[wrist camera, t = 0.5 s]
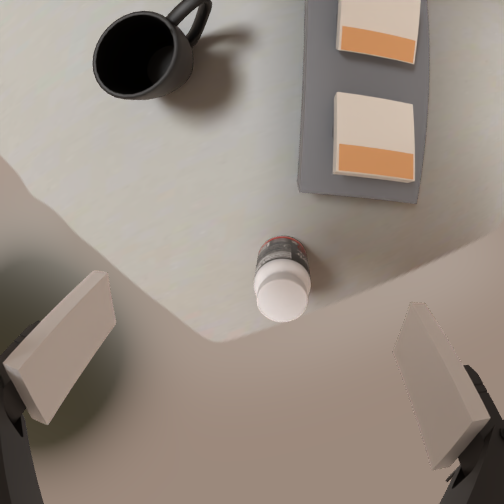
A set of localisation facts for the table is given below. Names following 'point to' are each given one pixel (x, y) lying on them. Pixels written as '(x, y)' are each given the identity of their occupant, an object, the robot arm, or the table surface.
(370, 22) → the switch
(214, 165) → the table surface
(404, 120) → the switch
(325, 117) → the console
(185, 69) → the mug
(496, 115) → the table surface
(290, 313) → the pill bottle
